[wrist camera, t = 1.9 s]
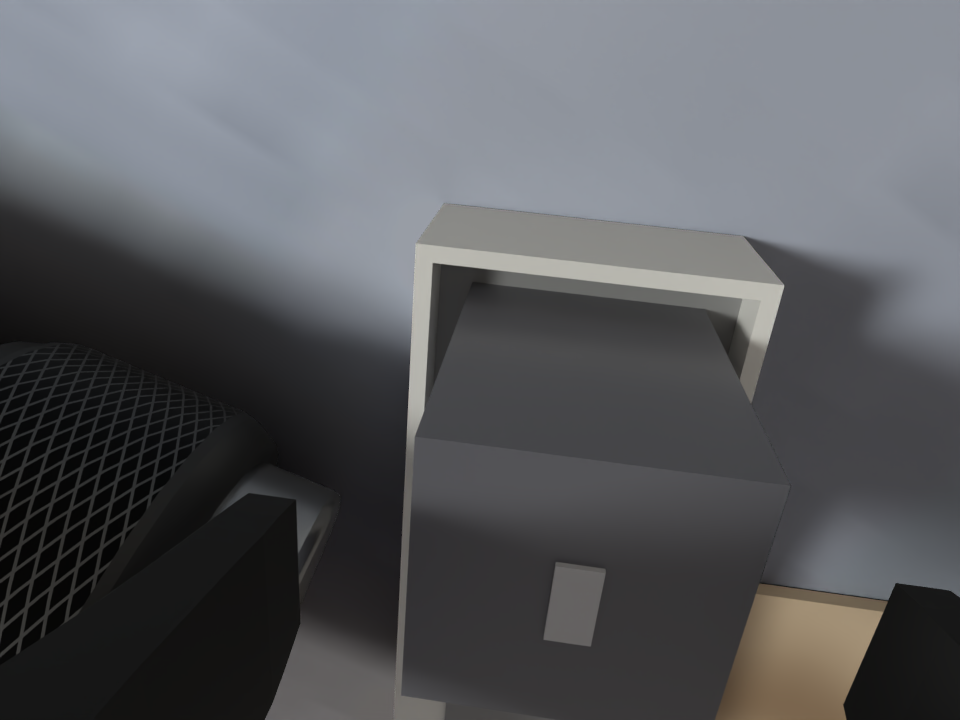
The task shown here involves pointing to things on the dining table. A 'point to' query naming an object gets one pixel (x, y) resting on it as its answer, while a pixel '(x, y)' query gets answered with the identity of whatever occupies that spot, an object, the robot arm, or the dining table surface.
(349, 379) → the dining table surface
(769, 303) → the socket strip
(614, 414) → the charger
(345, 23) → the dining table surface
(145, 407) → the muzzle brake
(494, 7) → the dining table surface
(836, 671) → the coaster
